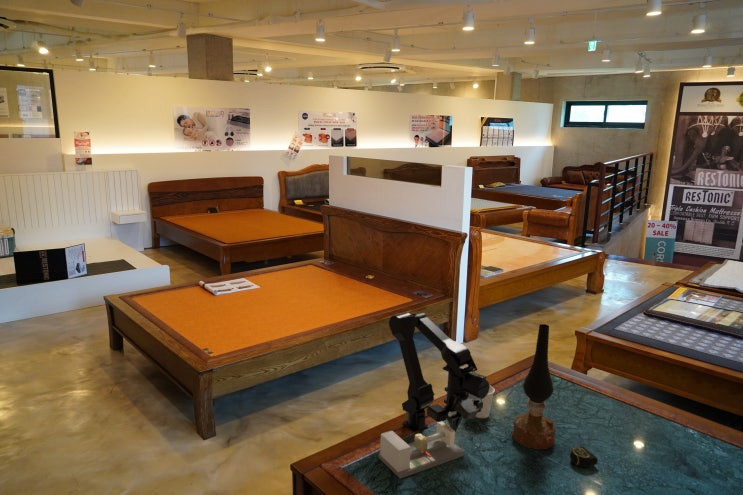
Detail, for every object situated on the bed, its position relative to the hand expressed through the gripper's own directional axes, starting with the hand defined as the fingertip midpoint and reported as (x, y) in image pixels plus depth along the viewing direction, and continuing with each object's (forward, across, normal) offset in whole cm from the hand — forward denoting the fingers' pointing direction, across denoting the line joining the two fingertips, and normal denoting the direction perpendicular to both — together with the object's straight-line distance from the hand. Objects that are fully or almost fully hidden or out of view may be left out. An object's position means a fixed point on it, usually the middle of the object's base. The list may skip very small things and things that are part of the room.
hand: (453, 431), depth 175 cm
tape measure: (+5, +30, -26) cm, 40 cm away
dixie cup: (+5, +22, +11) cm, 25 cm away
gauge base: (+5, -12, 0) cm, 13 cm away
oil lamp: (+5, +26, -9) cm, 29 cm away
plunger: (+2, -7, 0) cm, 7 cm away
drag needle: (+2, -13, -1) cm, 13 cm away
